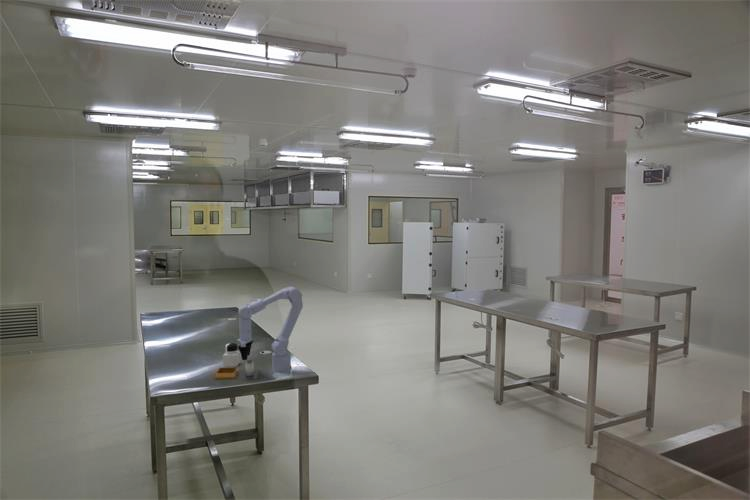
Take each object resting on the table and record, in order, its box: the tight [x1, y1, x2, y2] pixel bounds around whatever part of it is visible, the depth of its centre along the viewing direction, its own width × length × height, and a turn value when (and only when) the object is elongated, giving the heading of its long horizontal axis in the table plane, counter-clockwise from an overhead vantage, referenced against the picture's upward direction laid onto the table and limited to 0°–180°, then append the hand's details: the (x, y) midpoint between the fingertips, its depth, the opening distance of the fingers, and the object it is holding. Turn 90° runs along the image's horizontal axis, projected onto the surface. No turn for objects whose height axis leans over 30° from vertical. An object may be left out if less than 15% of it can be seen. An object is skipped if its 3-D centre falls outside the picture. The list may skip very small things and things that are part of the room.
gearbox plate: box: [213, 366, 261, 381], centre depth 238 cm, size 20×13×4 cm, turn 96°
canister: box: [244, 359, 255, 376], centre depth 239 cm, size 4×4×7 cm
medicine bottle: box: [222, 342, 241, 368], centre depth 255 cm, size 7×7×12 cm
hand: (245, 357), depth 239 cm, fingers open, 7 cm apart
